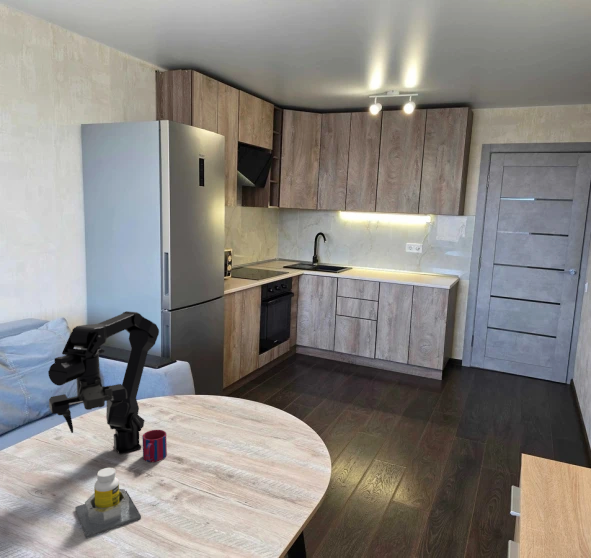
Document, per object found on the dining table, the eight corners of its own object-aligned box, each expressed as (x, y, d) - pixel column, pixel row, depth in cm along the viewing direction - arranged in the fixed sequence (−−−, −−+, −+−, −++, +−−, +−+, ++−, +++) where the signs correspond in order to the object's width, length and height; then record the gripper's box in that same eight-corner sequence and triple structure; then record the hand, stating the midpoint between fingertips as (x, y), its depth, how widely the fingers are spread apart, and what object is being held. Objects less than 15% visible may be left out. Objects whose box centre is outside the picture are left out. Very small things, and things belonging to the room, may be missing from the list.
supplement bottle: (116, 517, 108) (114, 477, 107) (92, 518, 107) (90, 478, 106) (122, 503, 113) (121, 465, 112) (99, 504, 113) (97, 466, 112)
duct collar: (126, 493, 119) (126, 479, 118) (140, 518, 109) (140, 503, 108) (75, 509, 112) (74, 495, 111) (86, 538, 102) (85, 522, 102)
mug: (170, 451, 140) (169, 430, 139) (155, 469, 130) (155, 446, 129) (149, 449, 141) (148, 428, 140) (133, 467, 131) (132, 444, 130)
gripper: (53, 389, 112) (57, 449, 114) (132, 375, 123) (134, 430, 125) (47, 375, 121) (50, 432, 123) (120, 363, 132) (122, 416, 134)
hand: (90, 428), depth 126 cm, fingers open, 9 cm apart
